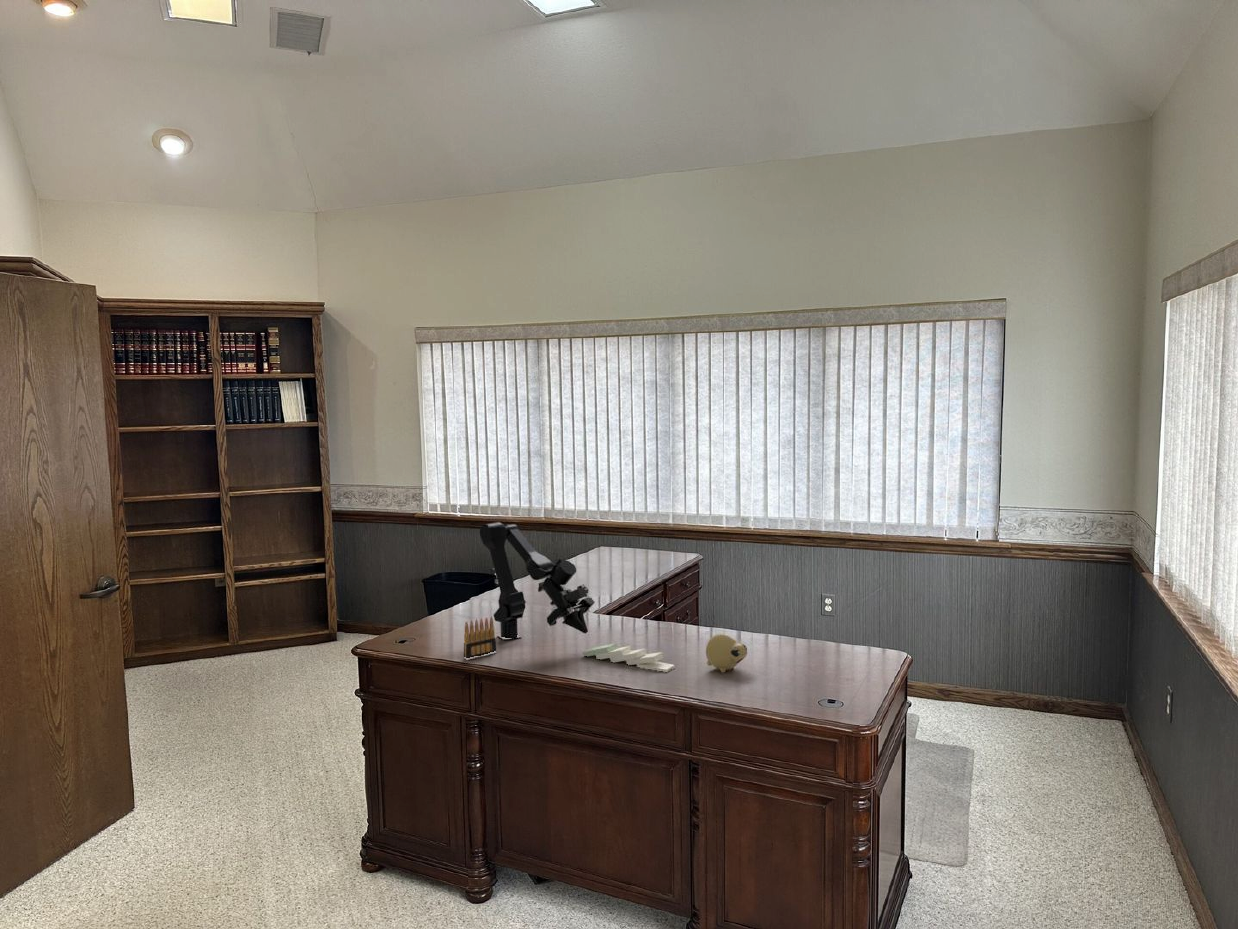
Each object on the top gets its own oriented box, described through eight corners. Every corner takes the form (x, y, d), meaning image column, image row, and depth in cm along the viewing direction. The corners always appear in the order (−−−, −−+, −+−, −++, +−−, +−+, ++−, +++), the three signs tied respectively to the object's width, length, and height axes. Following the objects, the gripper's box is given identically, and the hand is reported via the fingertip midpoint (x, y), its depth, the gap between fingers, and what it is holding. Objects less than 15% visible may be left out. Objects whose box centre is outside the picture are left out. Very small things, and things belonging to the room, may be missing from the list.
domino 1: (582, 652, 268) (606, 647, 262) (592, 647, 272) (616, 643, 266) (583, 657, 268) (608, 652, 262) (593, 652, 272) (617, 648, 266)
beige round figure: (735, 678, 245) (735, 642, 244) (699, 671, 253) (699, 635, 252) (752, 669, 253) (752, 634, 252) (717, 662, 260) (717, 627, 260)
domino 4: (626, 660, 259) (654, 656, 254) (634, 655, 264) (662, 652, 258) (627, 665, 259) (655, 662, 254) (635, 660, 264) (663, 657, 258)
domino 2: (595, 655, 265) (621, 650, 259) (605, 650, 269) (630, 645, 263) (597, 660, 265) (622, 655, 259) (606, 655, 269) (631, 651, 263)
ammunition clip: (466, 660, 267) (465, 622, 266) (463, 659, 269) (462, 621, 268) (496, 653, 274) (495, 616, 273) (493, 652, 275) (492, 615, 274)
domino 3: (609, 657, 262) (636, 652, 257) (618, 653, 266) (645, 648, 261) (611, 662, 262) (637, 658, 256) (620, 658, 266) (646, 653, 261)
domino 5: (637, 664, 257) (666, 669, 252) (645, 659, 261) (674, 664, 256) (637, 669, 257) (666, 675, 252) (645, 665, 261) (674, 670, 256)
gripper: (553, 583, 264) (583, 624, 259) (589, 572, 279) (618, 610, 274) (533, 605, 269) (562, 646, 264) (570, 593, 284) (598, 631, 279)
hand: (586, 632), depth 270 cm, fingers closed
